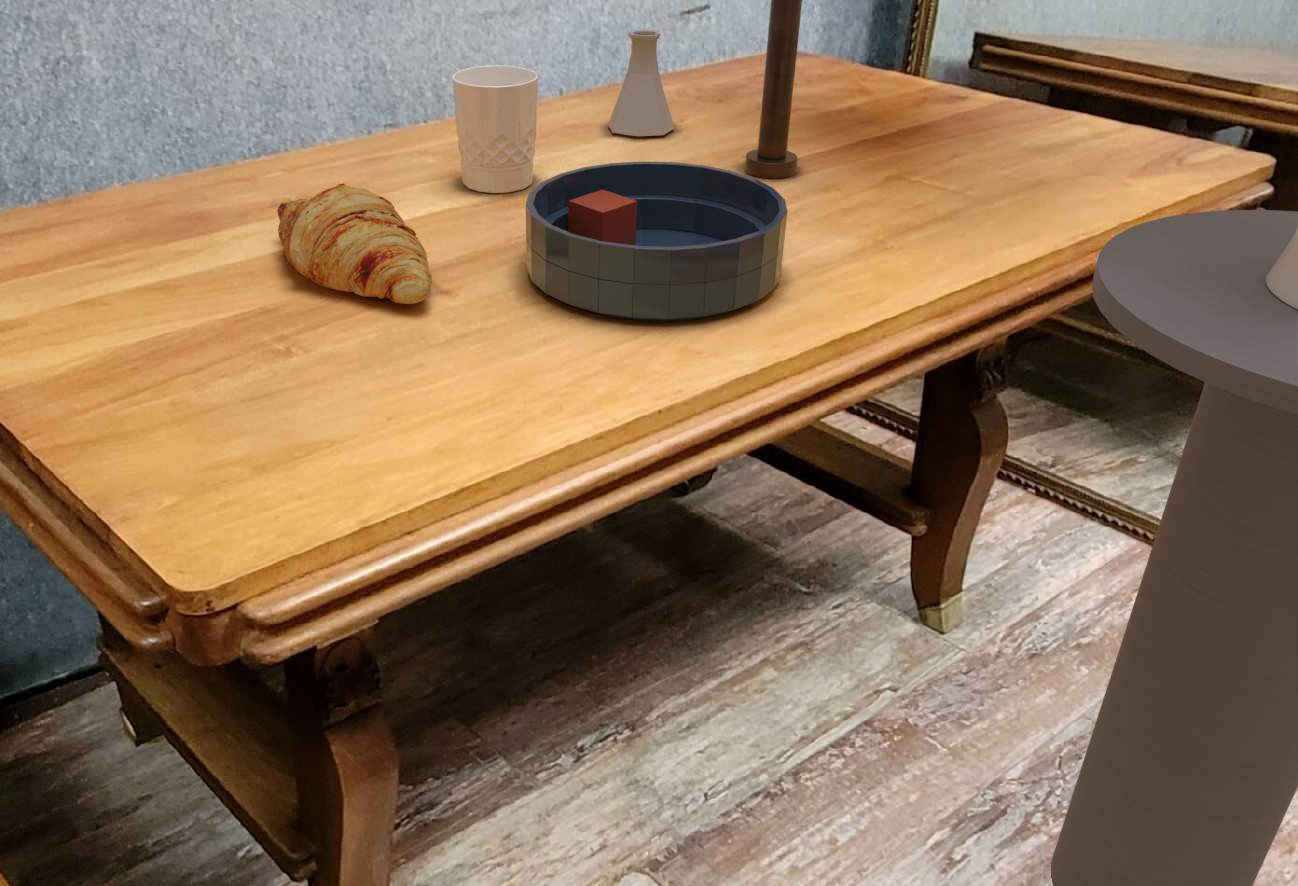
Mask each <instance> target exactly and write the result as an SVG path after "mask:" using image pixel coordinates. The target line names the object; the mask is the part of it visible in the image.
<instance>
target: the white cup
mask: <svg viewBox="0 0 1298 886" xmlns="http://www.w3.org/2000/svg"><path fill="white" fill-rule="evenodd" d="M451 79H452V90H453V101H454V102H453V103H454V115H455V125H456V127H455V128H456V134H457V144H458V152H459V154H460V166H461V179H462V184H463V185H464V186H465V187H467V189H470V190H473V191H476V192H480V193H487V194H488V193H489V194H504V193H512V192H513V193H514V192H517V191H522V190H524V189H526V188H528V187H530V186H531V185H532V183H533V180H534V157H535V155H536V142H537V141H536V139H537V121H538V119H537V118H538V91H539V90H538V89H539V88H538V87H539V74H538V72H536V71H534V70H532V69H529V68H526V67H522V66H515V65H505V64H503V65H502V64H491V65H487V64H486V65H478V66H471V67H466V68H462V69H460V70H457V71H456V72H454V73H453V74H452V77H451Z"/></svg>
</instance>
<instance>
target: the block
mask: <svg viewBox="0 0 1298 886" xmlns="http://www.w3.org/2000/svg"><path fill="white" fill-rule="evenodd" d="M636 220H637V201H636V200H633V199H630V198H627V197H624V196H621V195H618V194H615V193H612V192H609V191H606V190H600V191H596V192H593V193H590V194H587V195H584V196H581V197H578V198H575V199H572V200H569V216H568V232H570V233H572V234H575V235H579V236H583V237H587V238H591V239H595V240H599V241H604V242H611V243H619V244H627V245H634V246H636Z"/></svg>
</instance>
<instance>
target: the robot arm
mask: <svg viewBox="0 0 1298 886" xmlns="http://www.w3.org/2000/svg"><path fill="white" fill-rule="evenodd" d="M1265 281H1266V285H1267V287H1268V288H1269V290H1270V291H1271V292H1272V293H1273V294H1274V295H1275V296H1276V297H1277V298H1279V299H1280V300H1282V301H1283V302H1285V303H1286V304H1288V305H1290V306H1291V307H1293V308H1295V309H1297V310H1298V228H1297V229H1296V231H1295V233H1294V235H1293V237H1292V238H1291V240H1290V242H1289V243H1288V245H1287V246H1286V248H1285V250H1284V251H1283V253H1282V254H1281V256H1280V257H1279V259H1278V260H1277V262H1276V263H1275V265H1274V266H1273V267H1272V268H1271V270H1270V271H1269V272H1268V274H1267V275H1266V279H1265Z"/></svg>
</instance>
